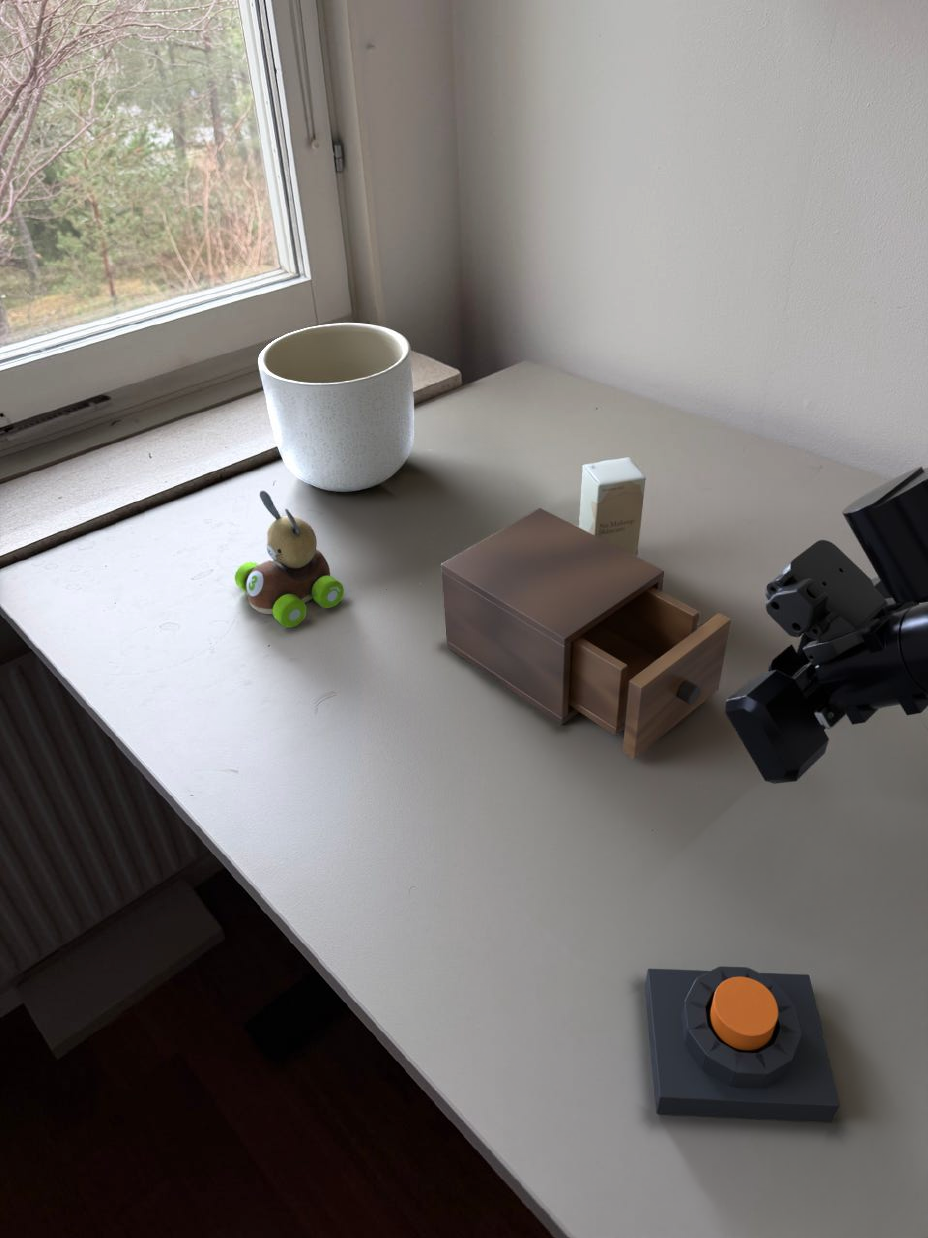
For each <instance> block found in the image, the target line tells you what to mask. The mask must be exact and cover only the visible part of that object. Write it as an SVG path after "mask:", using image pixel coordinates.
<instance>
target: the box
mask: <svg viewBox="0 0 928 1238" xmlns="http://www.w3.org/2000/svg"><path fill="white" fill-rule="evenodd" d="M637 465H638V464H636V463H635V462H634V461H633V459H632V458H631V457H628V456H627V457H621V458H615V459H606V460H602V461H597V462H591V463H586V464H585V463H584V464H583V465H582V470H581V472H582V473H581V475H582V476H581V485H580V486H581V488H580V502H579V503H580V504H579V519H578V527H579V528H581V529H583V530H585V531H587V532H589V533H591V534H593V535H595V536H597V537H599V538H601V539H603V540H605V541H607V542H609V543H611V544H613V545H615V546H616V547H618V548H620V549H622V550H624V551H626V552H628V553H630V554H632V555H634V556H636V557H638V551H639V542H640V534H641V525H642V516H643V507H644V506H643V505H644V498H645V489H646V479H647V477H646V476H645V474H644V473H643V471H642V470H641V469H640V468H639V466H637Z"/></svg>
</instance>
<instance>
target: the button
mask: <svg viewBox="0 0 928 1238" xmlns="http://www.w3.org/2000/svg"><path fill="white" fill-rule="evenodd" d="M710 1019H711V1023H712V1026H713V1028H714V1030H715V1032H716V1033H717V1035H718V1036H719V1037H720V1038H721V1039H722V1040H723V1041H724V1042H725V1043H727V1044H728V1045H730V1046H732V1047H734V1048H737V1049H740V1050H747V1051H748V1050H756V1049H759V1048H761V1047H763V1046H764V1045H766V1044H767V1043H768V1042H769V1040H770V1039H771V1037H772V1034H773V1031H774V1028H775V1025H776V1022H777V1019H778V1006H777V1003H776V1000H775V998H774V996H773V995H772V993H771V992H770V991H769V990H768V989H767V988H766V987H765V986H764V985H762V984H761V983H759V982H758V981H756V980H753V979H751V978H747V977H733V978H729V979H727V980H725V981H723V982H722V983H721V984H720V985H719V986H718V988H717V989H716V991H715V994H714V999H713V1003H712V1007H711V1011H710Z"/></svg>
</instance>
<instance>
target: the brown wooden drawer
mask: <svg viewBox="0 0 928 1238" xmlns="http://www.w3.org/2000/svg"><path fill="white" fill-rule="evenodd" d="M699 620H700V611H699V610H697V609H695V608H694V607H692V606H690V605H687V604H685V603H684V602H682V601H680V600H679V599H676V598H674V597H672V596H671V595H668V594H667V593H665V592H663V591H662V592H661V591H659V590H657V589H655V588H653V587H650V588H649V589H647V590H646V591H644V592H643V593H641V594H640V595H638V596H637V597H636V598H634V599H633V600H631V601H630V602H628V603H627V604H625V605H624V606H623V607H621V608H620V609H618V610H617V611H615V612H614V613H612V614H611V615H609V616H608V617H607V618H605V619H604V620H602V621H601V622H599V623H598V624H596V625H595V626H594V627H592V628H591V629H589V630H588V631H586V632H585V633H583V634H582V635H580V636H579V637H578V638H576V639H575V640H573V641H572V642H571V653H570V678H569V703H568V705H570V706H571V707H573V708H574V709H576V710H577V711H579V713H581V714H582V715H583V716H585V717H587V719H590V720H591V721H592V722H594V723H595V724H597V725H598V726H600V727H602V728H603V729H604V730H606V731H607V732H609V733H610V734H612V735H614V736H618V735H619V734H620V733H621V732H622V731H624V733H623V743H622V752H623V753H624V754H626V755H627V756H628V757H630V758H631V759H633V760H635V759H637V758H638V757H639V756H640V755H641V754H642V753H644V752H645V751H646V750H647V749H649V747H651V746H652V745H653V744H655V743H656V742H657V741H658V740H660V739H661V738H662V737H663V736H664V735H665V734H667V733H668V732H669V731H670V730H671V729H673V728H674V727H675V726H676V725H678V723H680V722H682V720H684V719H685V718H686V717H687V716H688V715H690V714H691V713H692V712H694V711H695V709H697V708H698V707H700V706H701V705H702V704H703V703H704V702H705V701H707V700H708V699H709V698H710V697H711V696H712V695H714V694H715V693H716V692H717V691H719V688H720V683H721V678H722V673H723V672H722V671H723V666H724V662H725V661H724V660H725V656H726V650H727V643H728V639H729V638H728V637H729V633H730V626H731V621H732V619H731V618H729V617H727V616H725V615H724V614H721V613H719V612H718V613H717V614H716V615H714V616H713V617H712V618H710V619H709V620H707V621H706V622H705V623H703V624H702V625H701V626H699V627H698V625H699Z"/></svg>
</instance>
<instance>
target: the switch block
mask: <svg viewBox="0 0 928 1238" xmlns="http://www.w3.org/2000/svg"><path fill="white" fill-rule="evenodd" d="M733 977H747V978H751V979H753V980H756V981H758V982H759V983H761V984H762V985H764V986H765V987H766V988H767V989H768V990H769V991H770V992H771V993H772V995H773V996H774V998H775V1000H776V1003H777V1006H778V1019H777V1022H776V1025H775V1028H774V1031H773V1034H772V1037H771V1039H770V1040H769V1042H768V1043H767V1044H766V1045H764V1046H763V1047H761V1048H759V1049H756V1050H748V1051H747V1050H740V1049H737V1048H734V1047H732V1046H730V1045H728V1044H727V1043H725V1042H724V1041H723V1040H722V1039H721V1038H720V1037H719V1036H718V1035H717V1033H716V1032H715V1030H714V1028H713V1026H712V1023H711V1019H710V1011H711V1007H712V1003H713V999H714V994H715V991H716V989H717V988H718V986H719V985H720V984H721V983H722V982H723V981H725V980H727V979H729V978H733ZM811 981H812V980H811V977H810V975H809V974H808V973H807V974H806V973H805V974H804V973H777V972H758V971H756V970H754V969H752V968H750V967H747V966H745V967H744V966H720V965H719V966H717V967H715V968H713V969H712V970H702V969H701V970H700V969H697V970H695V969H675V968H673V969H671V968H647V971H646V976H645V984H644V991H645V992H644V993H645V1001H646V1002H645V1004H646V1015H647V1025H648V1035H649V1036H648V1037H649V1048H650V1049H649V1050H650V1057H651V1058H650V1059H651V1060H650V1061H651V1070H652V1071H651V1072H652V1079H653V1080H652V1081H653V1091H654V1103H655V1113H656V1114H657V1115H665V1116H666V1115H667V1116H668V1115H670V1116H688V1117H708V1118H709V1117H710V1118H726V1119H727V1118H728V1119H747V1120H749V1119H750V1120H769V1121H787V1122H788V1121H790V1122H807V1123H810V1122H811V1123H826V1124H827V1123H828V1124H829V1123H830V1124H832V1123H833V1122H834V1120H835V1118H836V1115H837V1114H838V1112H839V1110H840V1107H841V1103H840V1099H839V1095H838V1090H837V1087H836V1081H835V1079H834V1074H833V1070H832V1065H831V1061H830V1057H829V1052H828V1049H827V1044H826V1040H825V1037H824V1032H823V1028H822V1023H821V1020H820V1014H819V1011H818V1006H817V1002H816V999H815V998H816V997H815V994H814V989H813V985H812V982H811Z"/></svg>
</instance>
